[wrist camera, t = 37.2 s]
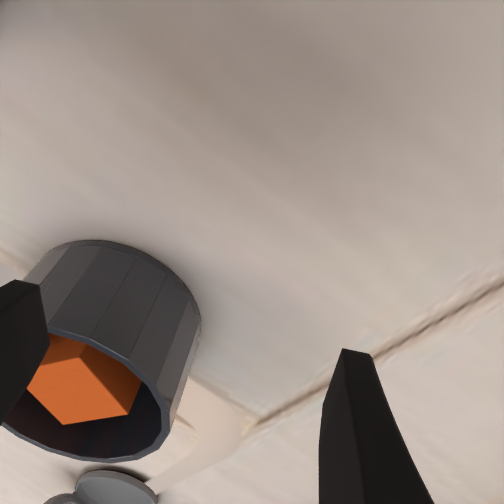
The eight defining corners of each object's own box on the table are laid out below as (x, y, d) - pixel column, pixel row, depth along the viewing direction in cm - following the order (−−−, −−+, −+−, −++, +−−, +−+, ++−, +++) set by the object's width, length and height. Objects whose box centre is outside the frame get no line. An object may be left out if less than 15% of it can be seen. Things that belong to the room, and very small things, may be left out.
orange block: (103, 349, 27) (62, 425, 23) (61, 299, 25) (10, 372, 21) (160, 337, 26) (128, 414, 22) (121, 283, 24) (78, 357, 20)
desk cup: (1, 300, 27) (-73, 385, 22) (92, 204, 22) (24, 286, 17) (133, 390, 30) (94, 482, 25) (238, 324, 25) (214, 421, 20)
